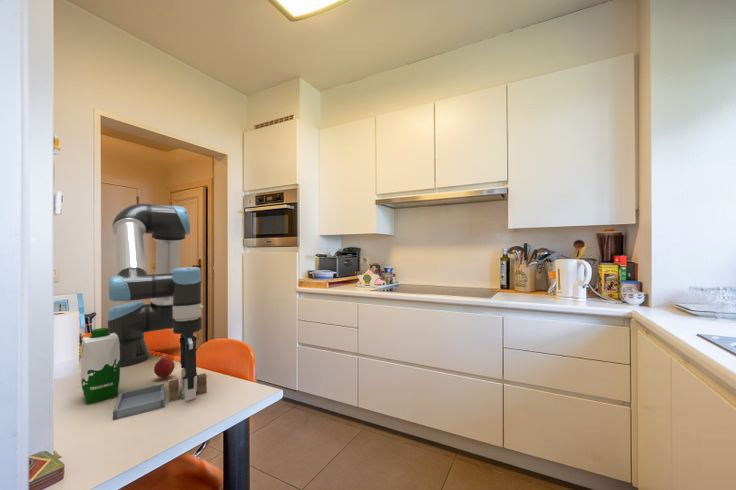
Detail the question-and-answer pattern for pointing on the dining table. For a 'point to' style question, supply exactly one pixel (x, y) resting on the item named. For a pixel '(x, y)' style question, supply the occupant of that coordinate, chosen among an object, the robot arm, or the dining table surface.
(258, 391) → the dining table surface
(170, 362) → the red round fruit
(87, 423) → the dining table surface
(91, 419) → the dining table surface
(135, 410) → the tray
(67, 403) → the dining table surface
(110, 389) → the milk carton
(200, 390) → the walnut posts
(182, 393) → the rook chess piece
